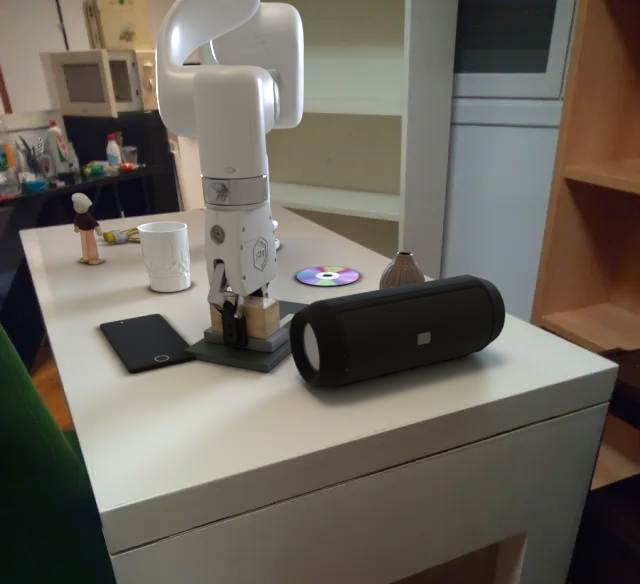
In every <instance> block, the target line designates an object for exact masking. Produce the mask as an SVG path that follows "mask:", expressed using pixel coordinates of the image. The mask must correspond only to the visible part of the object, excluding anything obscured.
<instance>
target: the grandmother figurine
mask: <svg viewBox="0 0 640 584" xmlns="http://www.w3.org/2000/svg"><path fill="white" fill-rule="evenodd" d="M71 200H72V202H73V210H74V211H75V212H76V214H75V215H74V218H73V227H74V228H73V231H74V233H76V234H79V235H80V241H81V243H80V244H81V254H82V257H80V258H79V263H88V264H89V265H93V266H94V265H98V264H101V263H103V260H102V259H101V258H100V255H99V250H98V244H97V240H96V237H95V233H94V232H96V235H97V236H98V237H103V231H102V230H101V224H100V223H99V222H98V221H97V220H96V219H95V217H93V216H92V215H91V214H90V213H89V209H90V207H91V206H92V205H93V202H92V201H91V199H90V198H89V197H88V196H87V195H86V194H84V193H83V192H82V193H81V192H76V193H73V194H72V195H71Z"/></svg>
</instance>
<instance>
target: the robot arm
mask: <svg viewBox="0 0 640 584" xmlns="http://www.w3.org/2000/svg"><path fill="white" fill-rule="evenodd" d="M304 40H305V39H304V27H303V21H302V17H301V15H300V13H299V11H298V10H297V8H296V7H295V6H293V5H292V4H290V3H286V2H261V0H174V2H173V4H172V5H171V7H169V10H168V11H167V12H166V14H165V16H164V18H163V20H162V22H161V25H160V26H159V30H158V33H157V37H156V42H155V43H156V45H155V79H156V80H155V83H156V98H157V106H158V112H159V116H160V118H161V121H162V123H163V125H164V127H165V128H166V129H167V130H168V132H170V133H171V134H173V135H174V136H177V137H180V138H196V139H197V147H198V158H199V166H200V167H199V168H200V176H201V185H202V195H203V203H204V204H203V205H204V207H205V216H204V243H205V244H204V248H205V263H206V275H207V281H208V285H209V290H208V294H207V298H206V299H207V303H208V304H209V303H210V304H211V305H212V306H214V307H215V309H216V310H217V311H218V314H219V316H221V318H222V329H223V339H224V343H225V344H226V345H231V346H236V347H242V348H244V347H246V346H247V344H248V343H247V330H246V317H243V316H242V311H243V296H247V295H249V296H256V297H264V298H269V291H268V287H269V285H270V282H271V281H273V280H274V279H275V278H276V276H277V274H278V257H277V249H279V247H280V240H279V239H278V238H277V237H276V236H275V235H276V234H275V230H276V229H277V228H278V227H279V224H278V223H279V222H278V221H276V219H273V215H272V210H271V194H270V175H269V173H270V172H269V158H268V153H267V142H266V141H267V140H266V135H267V134H268V133H270V131H271V130H285V129H293V128H296V127H297V126H298V125H300V123H301V121H302V119H303V113H304V101H305V100H304V99H305V98H304V93H305V92H304V87H305V86H304V84H305V83H304V82H305V81H304V79H305V77H304V76H305V74H304V73H305V72H304V71H305V69H304V67H305V65H304V64H305V62H304V61H305V54H304V53H305V49H304V48H305V46H304V45H305V44H304V43H305V42H304ZM209 42H210V48H211V52H212V55H213V58H214V60H215V61H216V63H217V64H218V65H217V64H212V65H211V64H210V65H209V64H206V65H205V64H204V65H203V64H197V65H196V64H193V65H192V64H191V65H190V64H189V65H184V63H185V62H186V60H187V58H188V57H189V56H190V55H191V54H192V53H193V52H194V51H196V50H197V49H198V48H200V47H202V46H203V45H205V44H207V43H209ZM229 287H230V290H228V288H229ZM228 296H229V297H235V304H234V305H233V304H232V303H231V302H230V301H227V300H228Z"/></svg>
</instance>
